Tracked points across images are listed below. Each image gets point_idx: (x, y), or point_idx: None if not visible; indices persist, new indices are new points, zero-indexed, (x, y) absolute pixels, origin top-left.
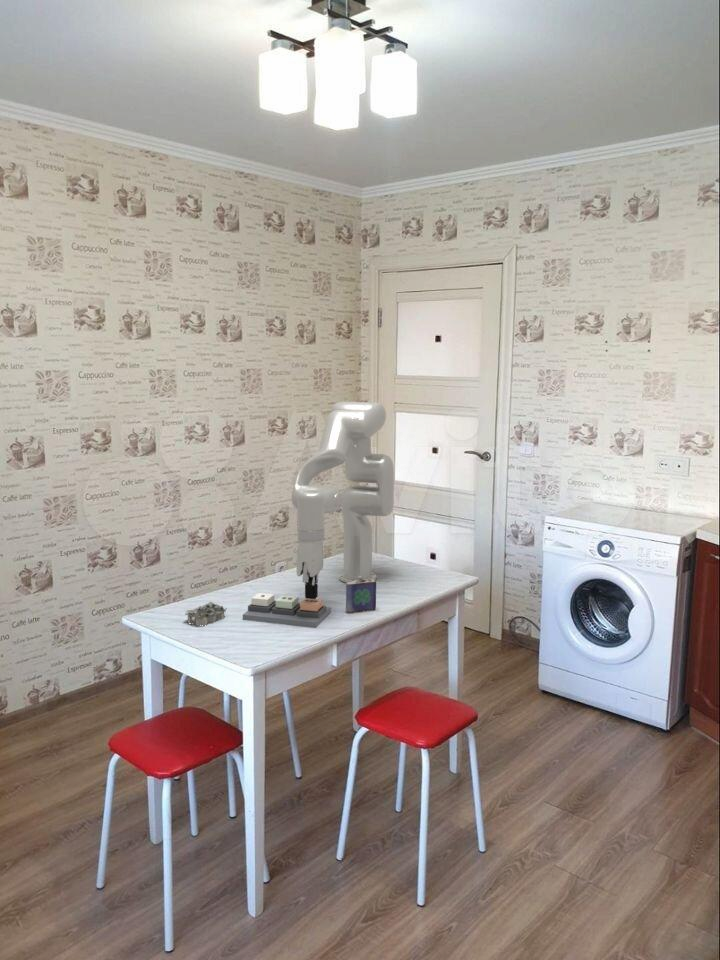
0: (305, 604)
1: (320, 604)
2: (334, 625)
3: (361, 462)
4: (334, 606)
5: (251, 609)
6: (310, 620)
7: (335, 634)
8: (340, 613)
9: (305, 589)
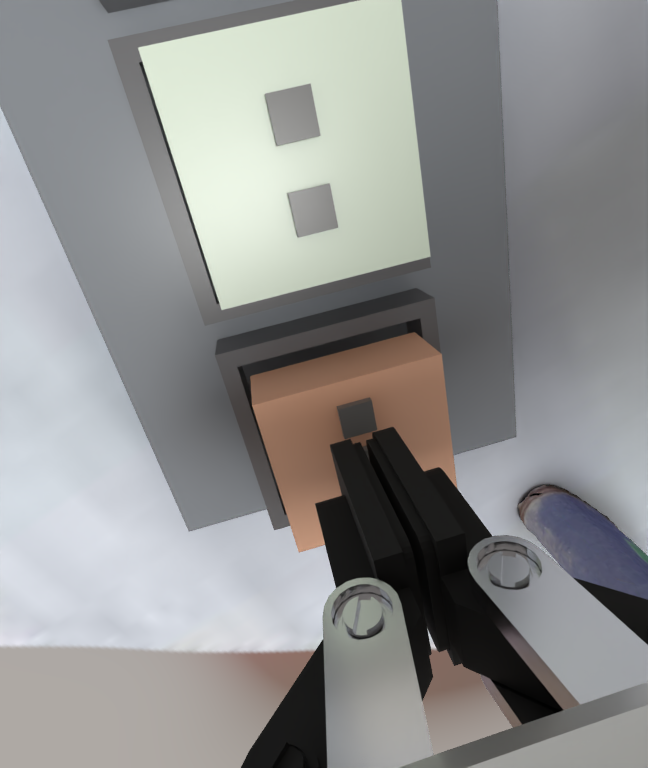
0: (267, 452)
1: None
2: (296, 561)
3: None
4: (614, 371)
5: None
6: (200, 483)
7: (174, 640)
8: (500, 475)
9: (355, 508)
